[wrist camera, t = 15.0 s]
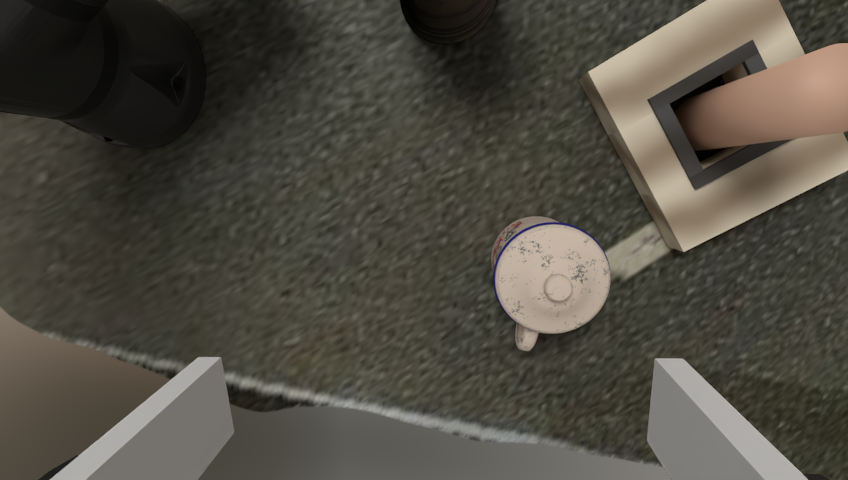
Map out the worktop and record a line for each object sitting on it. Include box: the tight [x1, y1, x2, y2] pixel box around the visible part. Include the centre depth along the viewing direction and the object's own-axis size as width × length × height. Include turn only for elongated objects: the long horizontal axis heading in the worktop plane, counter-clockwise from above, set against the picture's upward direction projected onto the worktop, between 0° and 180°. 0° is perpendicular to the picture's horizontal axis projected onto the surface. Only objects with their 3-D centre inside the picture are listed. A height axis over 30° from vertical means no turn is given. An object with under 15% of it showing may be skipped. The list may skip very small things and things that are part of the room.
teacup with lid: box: [491, 216, 611, 351], centre depth 35 cm, size 12×9×12 cm
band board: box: [579, 0, 848, 252], centre depth 35 cm, size 18×15×3 cm
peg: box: [674, 43, 848, 151], centre depth 30 cm, size 5×5×14 cm
